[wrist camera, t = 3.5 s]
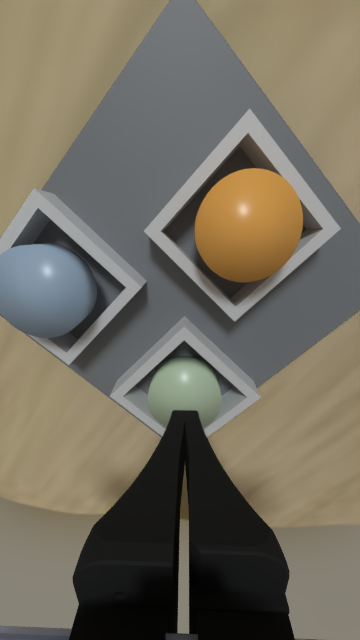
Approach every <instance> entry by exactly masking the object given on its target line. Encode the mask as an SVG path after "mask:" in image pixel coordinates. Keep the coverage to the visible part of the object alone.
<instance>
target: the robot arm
mask: <svg viewBox="0 0 360 640" xmlns="http://www.w3.org/2000/svg"><path fill="white" fill-rule="evenodd" d="M184 465H186V478H187V491H188V503H189V634H179V633H177V621H178V617H177V616H178V572H179V527H180V525H179V524H180V504H181V495H182V485H183V475H184ZM288 580H289V569H288V565H287V562H286V560H285V557H284V554H283V552H282V549H281V547H280V545H279V543H278V541H277V539H276V536H275V534H274V533H273V531H272V529H271V528H270V527H269V526H268V525H267V524H266V523H265V522H264V521H263V520H262V519H261V517H260V516H259V515H258V514H257V513H256V512H255V511H254V509H253V508H252V507H251V506H250V505H249V503H248V502H247V501H246V500H245V498H244V497H243V496H242V495H241V493H240V492H239V491H238V489H237V488H236V487H235V485H234V484H233V483H232V481H231V480H230V478H229V477H228V475H227V474H226V472H225V470H224V469H223V467H222V466H221V464H220V462H219V461H218V459H217V457H216V455H215V453H214V451H213V450H212V447H211V445H210V443H209V441H208V439H207V437H206V435H205V432H204V430H203V427H202V424H201V421H200V418H199V413H198V411H196V410H173V411H172V413H171V417H170V420H169V423H168V425H167V428H166V430H165V432H164V434H163V436H162V438H161V440H160V442H159V444H158V446H157V448H156V449H155V451H154V453H153V455H152V456H151V458H150V460H149V461H148V463H147V464H146V466H145V467H144V469H143V470H142V472H141V473H140V474H139V476H138V477H137V478H136V480H135V481H134V482H133V484H132V485H131V486H130V487H129V489H128V490H127V491H126V492H125V493H124V494H123V495H122V497H121V498H120V499H119V500H118V501H117V502H116V503H115V505H114V506H113V507H112V508H111V509H110V510H109V511H108V512H107V513H106V514H105V515H104V516H103V517H102V518H101V519H100V520H99V521H98V522H97V523H96V524H95V525H94V526H93V528H92V530H91V532H90V534H89V536H88V538H87V540H86V542H85V544H84V547H83V549H82V551H81V554H80V557H79V560H78V563H77V566H76V569H75V572H74V575H73V584H74V588H75V592H76V595H77V599H78V602H79V606H78V610H77V613H76V616H75V620H74V623H73V627H72V629H63V628H40V627H17V626H0V640H316V639H294V635H293V631H292V627H291V623H290V620H289V616H288V614H289V606H288V603H287V599H286V595H285V592H286V588H287V584H288Z"/></svg>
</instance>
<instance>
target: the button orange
mask: <svg viewBox="0 0 360 640" xmlns="http://www.w3.org/2000/svg"><path fill="white" fill-rule="evenodd" d="M302 228H303V212H302V206H301V203H300V200H299V197H298V195H297V193H296V192H295V190H294V189H293V187H292V186H291V185H290V184H289V182H288V181H287V180H285V179H284V178H283V177H282V176H280V175H278V174H276V173H274V172H272V171H269V170H265V169H260V168H250V169H243V170H239V171H236V172H234V173H231V174H229V175H228V176H226V177H224V178H223V179H221V180H220V181H219V182H217V183H216V184H215V185H214V186H213V187H212V188H211V190H210V191H209V192H208V193H207V195H206V197H205V198H204V200H203V201H202V203H201V205H200V208H199V210H198V212H197V215H196V219H195V224H194V237H195V243H196V246H197V249H198V251H199V253H200V255H201V257H202V259H203V260H204V262H205V263H206V264H207V266H208V267H209V268H210V269H211V270H212V271H213V272H214V273H216V274H217V275H219V276H221V277H223V278H225V279H227V280H230V281H235V282H253V281H258V280H261V279H264V278H266V277H268V276H270V275H272V274H273V273H275V272H277V271H278V270H279V269H280V268H282V267H283V266H284V265H285V264H286V263H287V261H288V260H289V259H290V258H291V256H292V255H293V253H294V251H295V250H296V248H297V245H298V243H299V240H300V237H301V233H302Z"/></svg>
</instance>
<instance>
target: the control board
mask: <svg viewBox="0 0 360 640" xmlns="http://www.w3.org/2000/svg"><path fill="white" fill-rule="evenodd" d="M250 168H260V169H265V170H269V171H272V172H274V173H276V174H278V175H280V176H282V177H283V178H284V179H285V180H287V181H288V182H289V184H290V185H291V186H292V187H293V189H294V190H295V192H296V193H297V195H298V197H299V200H300V203H301V206H302V212H303V228H302V233H301V237H300V240H299V243H298V245H297V248H296V250H295V251H294V253H293V255H292V256H291V258H290V259H289V260H288V261H287V263H286V264H285V265H284V266H283V267H282V268H280V269H279V270H278V271H277V272H275V273H273V274H272V275H270V276H268V277H266V278H264V279H261V280H258V281H253V282H235V281H230V280H227V279H225V278H223V277H221V276H219V275H217V274H216V273H214V272H213V271H212V270H211V269H210V268H209V267H208V266H207V264H206V263H205V262H204V260H203V259H202V257H201V255H200V253H199V251H198V249H197V246H196V243H195V237H194V224H195V219H196V215H197V212H198V210H199V208H200V205H201V203H202V201H203V200H204V198H205V197H206V195H207V193H208V192H209V191H210V190H211V188H212V187H213V186H214V185H215V184H216V183H217V182H219V181H220V180H221V179H223V178H224V177H226V176H228V175H229V174H231V173H234V172H236V171H239V170H243V169H250ZM45 243H51V244H57V245H61V246H64V247H66V248H68V249H70V250H72V251H74V252H75V253H77V254H78V255H79V256H80V257H81V258H82V259H83V260H84V261H85V262H86V263H87V265H88V266H89V267H90V269H91V271H92V273H93V275H94V278H95V281H96V285H97V299H96V303H95V306H94V308H93V310H92V312H91V313H90V314H89V315H88V316H87V317H86V318H85V319H84V320H83V321H82V322H80V323H79V324H78V325H77V326H76V327H75V328H73V329H72V330H71V331H69V332H68V333H66V334H64V335H61V336H58V337H53V338H41V337H35V336H32V335H29V334H26V333H25V334H26V335H27V336H29V337H30V338H31V339H32V340H34V341H35V342H36V343H38V344H39V345H40V346H42V347H43V348H44V349H46V350H47V351H48V352H50V353H51V354H52V355H54V356H55V357H56V358H58V359H59V360H60V361H61V362H63V363H64V364H65V365H67V366H68V367H69V368H71V369H72V370H73V371H75V372H76V373H77V374H79V375H80V376H81V377H83V378H84V379H85V380H87V381H88V382H89V383H91V384H92V385H93V386H94V387H96V388H97V389H98V390H100V391H101V392H102V393H104V394H105V395H106V396H108V397H109V398H110V399H112V400H113V401H114V402H116V403H117V404H118V405H120V406H121V407H122V408H123V409H125V410H126V411H127V412H129V413H130V414H131V415H133V416H134V417H135V418H137V419H138V420H139V421H141V422H142V423H143V424H145V425H146V426H147V427H149V428H150V429H151V430H153V431H154V432H155V433H156V434H158V435H159V436H160V437H162V436H163V434H164V432H165V430H166V428H167V427H165V426H163V425H162V424H160V423H159V422H158V421H157V420H156V419H155V418H154V417H153V416H152V414H151V413H150V411H149V408H148V403H147V397H148V392H149V387H150V383H151V379H152V376H153V373H154V371H155V370H156V368H157V367H158V366H159V365H160V364H161V363H163V362H164V361H166V360H168V359H170V358H173V357H176V356H192V357H196V358H199V359H201V360H203V361H205V362H206V363H208V364H209V365H210V366H211V367H212V368H213V370H214V371H215V373H216V375H217V377H218V382H219V386H220V391H221V396H222V406H221V410H220V412H219V414H218V416H217V417H216V418H215V419H214V420H213V421H212V422H211V423H210V424H208V425H207V426H205V427H203V430H204V432H205V435H206V437H208V436H209V435H211V434H212V433H213V432H215V431H216V430H218V429H219V428H220V427H222V426H223V425H224V424H226V423H227V422H228V421H230V420H231V419H232V418H234V417H235V416H237V415H238V414H239V413H241V412H242V411H243V410H245V409H246V408H247V407H249V406H250V405H251V404H253V403H254V402H255V401H257V400H258V399H260V398H261V396H260V394H259V392H258V390H257V387H258V386H260V385H261V384H262V383H264V382H265V381H266V380H268V379H269V378H270V377H272V376H273V375H274V374H276V373H277V372H278V371H280V370H281V369H282V368H284V367H285V366H286V365H288V364H289V363H290V362H292V361H293V360H294V359H295V358H297V357H298V356H299V355H301V354H302V353H303V352H305V351H306V350H307V349H309V348H310V347H311V346H313V345H314V344H315V343H317V342H318V341H319V340H321V339H322V338H323V337H325V336H326V335H327V334H329V333H330V332H331V331H333V330H334V329H335V328H337V327H338V326H339V325H340V324H342V323H343V322H344V321H346V320H347V319H348V318H350V317H351V316H352V315H354V314H355V313H356V312H358V311H359V310H360V224H359V222H358V221H357V219H356V218H355V217H354V215H353V214H352V213H351V211H350V210H349V208H348V207H347V206H346V204H345V203H344V202H343V200H342V199H341V198H340V196H339V195H338V193H337V192H336V191H335V189H334V188H333V187H332V185H331V184H330V183H329V181H328V180H327V178H326V177H325V176H324V174H323V173H322V172H321V170H320V169H319V167H318V166H317V165H316V163H315V162H314V161H313V159H312V158H311V157H310V155H309V154H308V152H307V151H306V150H305V148H304V147H303V146H302V144H301V143H300V141H299V140H298V139H297V137H296V136H295V135H294V133H293V132H292V131H291V129H290V128H289V126H288V125H287V124H286V122H285V121H284V120H283V118H282V117H281V116H280V114H279V113H278V111H277V110H276V109H275V107H274V106H273V105H272V103H271V102H270V100H269V99H268V98H267V96H266V95H265V94H264V92H263V91H262V90H261V88H260V87H259V85H258V84H257V83H256V81H255V80H254V79H253V77H252V76H251V75H250V73H249V72H248V70H247V69H246V68H245V66H244V65H243V64H242V62H241V61H240V59H239V58H238V57H237V55H236V54H235V53H234V51H233V50H232V49H231V47H230V46H229V44H228V43H227V42H226V40H225V39H224V38H223V36H222V35H221V34H220V32H219V31H218V29H217V28H216V27H215V25H214V24H213V23H212V21H211V20H210V18H209V17H208V16H207V14H206V13H205V12H204V10H203V9H202V8H201V6H200V5H199V3H198V2H197V1H196V0H170V1H169V2H168V4H167V5H166V7H165V8H164V10H163V11H162V12H161V14H160V15H159V17H158V18H157V20H156V21H155V23H154V24H153V26H152V27H151V29H150V30H149V32H148V33H147V35H146V36H145V38H144V39H143V41H142V42H141V44H140V45H139V46H138V48H137V49H136V51H135V52H134V54H133V55H132V57H131V58H130V60H129V61H128V63H127V64H126V66H125V67H124V69H123V70H122V72H121V73H120V75H119V76H118V77H117V79H116V80H115V82H114V83H113V85H112V86H111V88H110V89H109V91H108V92H107V94H106V95H105V97H104V98H103V100H102V101H101V103H100V104H99V106H98V107H97V109H96V110H95V111H94V113H93V114H92V116H91V117H90V119H89V120H88V122H87V123H86V125H85V126H84V128H83V129H82V131H81V132H80V134H79V135H78V137H77V138H76V140H75V141H74V143H73V144H72V145H71V147H70V148H69V150H68V151H67V153H66V154H65V156H64V157H63V159H62V160H61V162H60V163H59V165H58V166H57V168H56V169H55V171H54V172H53V174H52V175H51V176H50V178H49V179H48V181H47V182H46V184H45V185H44V187H43V188H42V190H39V189H36V188H34V189H33V191H32V192H31V194H30V195H29V197H28V198H27V200H26V201H25V203H24V204H23V206H22V207H21V209H20V210H19V212H18V213H17V215H16V216H15V218H14V219H13V221H12V222H11V224H10V225H9V227H8V228H7V230H6V231H5V233H4V234H3V236H2V237H1V239H0V255H1V254H2V253H3V252H5V251H6V250H8V249H10V248H13V247H16V246H20V245H32V244H45ZM0 315H1V316H2V314H1V313H0ZM2 317H3V316H2ZM3 318H4V317H3ZM23 333H24V332H23Z"/></svg>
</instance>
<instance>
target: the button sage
mask: <svg viewBox="0 0 360 640" xmlns="http://www.w3.org/2000/svg"><path fill="white" fill-rule="evenodd" d="M147 403H148V408H149V411H150V413H151V414H152V416H153V417H154V418H155V419H156V420H157V421H158V422H159V423H160V424H162V425H163V426H165V427H167V425H168V423H169V420H170V417H171V413H172V411H173V410H196V411H198V413H199V418H200V421H201V424H202V427H205V426H207V425H208V424H210V423H211V422H212V421H213V420H214V419H215V418H216V417H217V416H218V414H219V412H220V410H221V406H222V396H221V391H220V386H219V382H218V377H217V375H216V373H215V371H214V370H213V368H212V367H211V366H210V365H209V364H208V363H206V362H205V361H203V360H201V359H199V358H196V357H192V356H176V357H173V358H170V359H168V360H166V361H164V362H163V363H161V364H160V365H159V366H158V367H157V368H156V370H155V371H154V373H153V376H152V379H151V383H150V387H149V392H148V397H147Z"/></svg>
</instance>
